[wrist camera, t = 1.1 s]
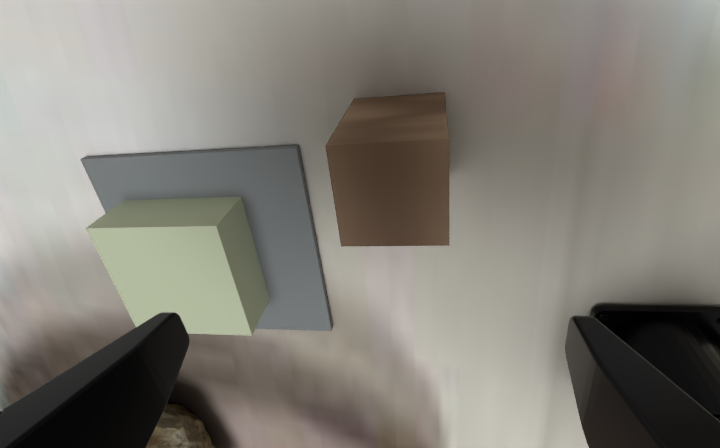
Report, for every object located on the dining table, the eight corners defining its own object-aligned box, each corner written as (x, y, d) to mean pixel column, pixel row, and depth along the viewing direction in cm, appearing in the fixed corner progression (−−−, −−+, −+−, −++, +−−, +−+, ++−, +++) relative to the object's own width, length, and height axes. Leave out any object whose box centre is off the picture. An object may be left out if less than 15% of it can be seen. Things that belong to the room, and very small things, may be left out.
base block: (241, 196, 22) (216, 225, 19) (270, 299, 25) (251, 335, 23) (123, 200, 23) (85, 228, 21) (166, 297, 27) (138, 331, 24)
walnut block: (444, 92, 18) (449, 139, 13) (445, 176, 20) (449, 245, 15) (354, 98, 19) (325, 145, 14) (363, 179, 21) (341, 246, 16)
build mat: (298, 144, 20) (296, 147, 20) (332, 326, 26) (331, 330, 26) (85, 156, 23) (80, 159, 22) (162, 321, 28) (159, 325, 28)
